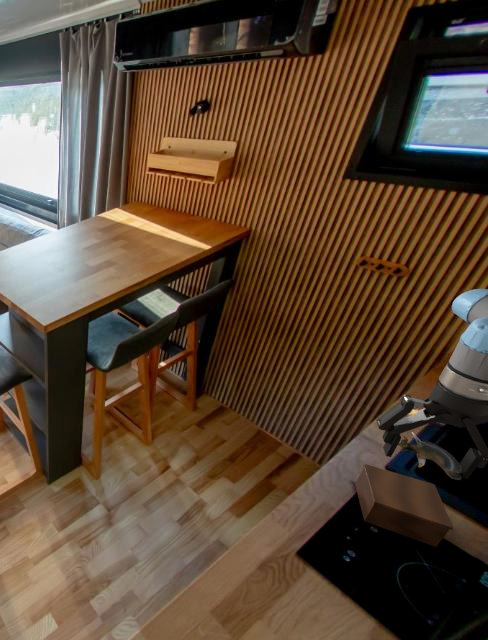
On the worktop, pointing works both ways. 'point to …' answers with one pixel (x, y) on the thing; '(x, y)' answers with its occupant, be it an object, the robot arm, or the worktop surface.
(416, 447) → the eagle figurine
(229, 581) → the worktop surface
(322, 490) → the worktop surface
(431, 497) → the walnut pedestal
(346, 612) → the worktop surface
